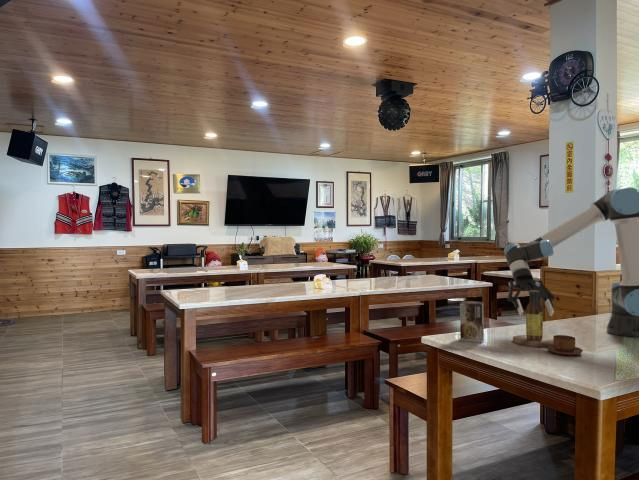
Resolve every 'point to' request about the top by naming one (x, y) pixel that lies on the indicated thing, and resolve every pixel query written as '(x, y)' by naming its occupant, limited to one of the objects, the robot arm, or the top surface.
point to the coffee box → (471, 321)
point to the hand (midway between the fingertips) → (537, 314)
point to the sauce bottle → (534, 317)
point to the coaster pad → (533, 341)
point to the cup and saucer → (564, 345)
